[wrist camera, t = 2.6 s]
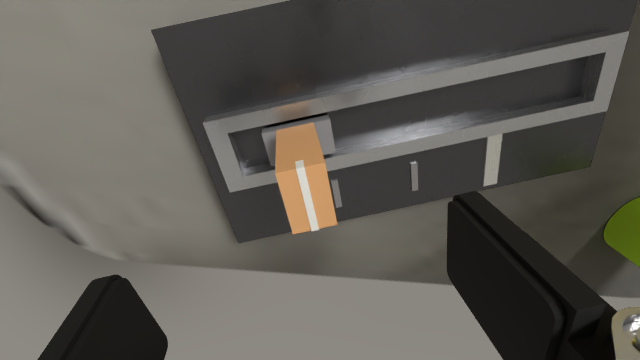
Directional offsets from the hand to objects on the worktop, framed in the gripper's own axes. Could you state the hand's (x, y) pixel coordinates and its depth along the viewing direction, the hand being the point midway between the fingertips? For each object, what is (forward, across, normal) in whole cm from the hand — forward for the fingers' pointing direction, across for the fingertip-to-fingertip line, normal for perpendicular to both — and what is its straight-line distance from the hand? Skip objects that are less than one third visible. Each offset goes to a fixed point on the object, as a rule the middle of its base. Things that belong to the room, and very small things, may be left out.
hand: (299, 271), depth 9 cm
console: (+12, -7, -1) cm, 14 cm away
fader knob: (+9, -1, -1) cm, 9 cm away
